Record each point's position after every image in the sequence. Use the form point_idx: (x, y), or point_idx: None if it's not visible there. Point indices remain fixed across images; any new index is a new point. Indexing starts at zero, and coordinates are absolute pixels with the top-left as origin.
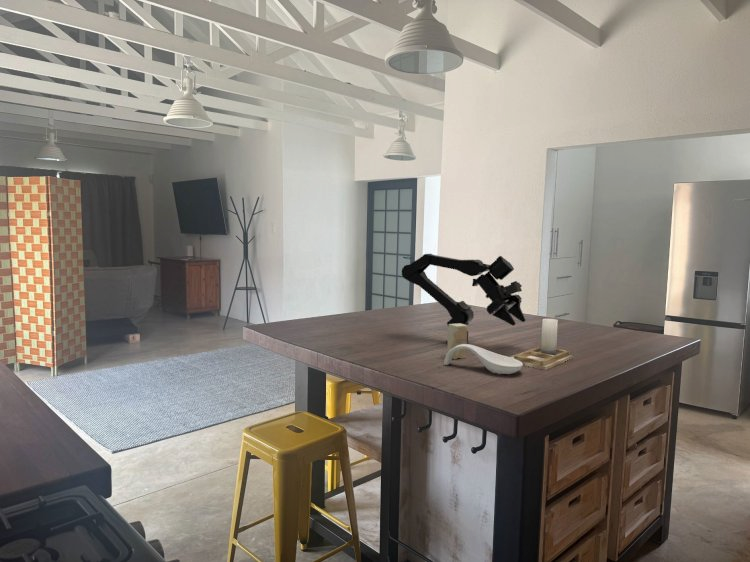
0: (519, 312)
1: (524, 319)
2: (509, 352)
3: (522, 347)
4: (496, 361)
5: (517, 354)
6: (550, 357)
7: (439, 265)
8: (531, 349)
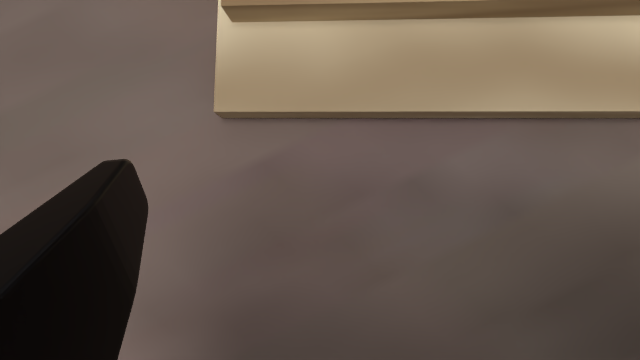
0: (15, 335)
1: (120, 172)
2: (456, 275)
3: None
4: None
5: (618, 102)
6: None
7: None
8: (271, 106)
